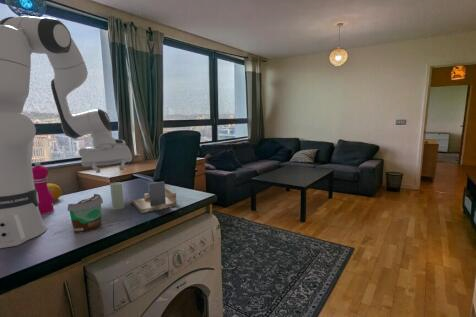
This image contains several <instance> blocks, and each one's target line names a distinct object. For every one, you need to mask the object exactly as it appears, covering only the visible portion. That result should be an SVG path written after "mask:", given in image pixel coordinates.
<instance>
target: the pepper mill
mask: <svg viewBox="0 0 476 317" xmlns="http://www.w3.org/2000/svg"><path fill="white" fill-rule="evenodd" d="M32 172H33V179H34V187H35V188H36V189H37V192H38V199H39V205H38V207H39V211H40V214H41V215H44V213H45V214H48V212H49V213H51V212H53V211H54V209H55V208H54V205H53V204H54V202H55V201H54V198H53V196H52V194H51V193H50V191H49V190H48V187H47V184H48V181H49V180H48V175H49V169H48V168H47V167H45V166H43V165H42V164H41V162H40V161H36V162H35V163H34V166H32Z"/></svg>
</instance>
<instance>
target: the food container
mask: <svg viewBox="0 0 476 317" xmlns="http://www.w3.org/2000/svg"><path fill="white" fill-rule="evenodd" d="M103 202H104V200H103V197H102V196H101V195H100V194H99V193H93V196H91V197H89V198H85V199H82V200H81V201H79V202H77V203H67V212H69V215H70V219H71V224H72V230H73V234H83V233H89V232H92V231H94V230H95V231H96V230H97V229H99V228H100V227H101V226H102V204H103Z"/></svg>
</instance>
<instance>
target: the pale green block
mask: <svg viewBox="0 0 476 317" xmlns="http://www.w3.org/2000/svg"><path fill="white" fill-rule="evenodd" d="M109 185H110V188H109V189H110V196H111V207H112V208H113V210H114V211H116V210H121V209H124V208H125V204H124V192H123V183H122V182H120V181H115V182H110V183H109Z"/></svg>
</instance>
